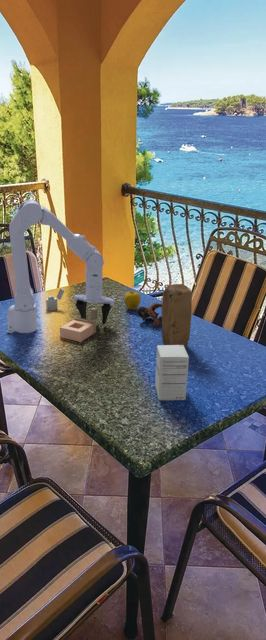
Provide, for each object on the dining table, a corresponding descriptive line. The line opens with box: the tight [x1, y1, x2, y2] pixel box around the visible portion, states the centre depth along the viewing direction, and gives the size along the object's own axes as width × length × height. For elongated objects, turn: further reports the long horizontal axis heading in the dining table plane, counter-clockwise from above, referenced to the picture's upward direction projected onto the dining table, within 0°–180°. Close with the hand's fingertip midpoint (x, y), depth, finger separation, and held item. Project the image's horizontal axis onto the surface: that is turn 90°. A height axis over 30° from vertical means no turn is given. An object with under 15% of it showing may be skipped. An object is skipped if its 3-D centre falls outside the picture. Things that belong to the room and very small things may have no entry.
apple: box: [123, 289, 141, 311], centre depth 180 cm, size 6×6×8 cm
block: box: [161, 283, 193, 348], centre depth 148 cm, size 11×8×20 cm
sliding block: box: [59, 319, 95, 343], centre depth 152 cm, size 8×8×4 cm
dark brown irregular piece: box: [135, 302, 162, 328], centre depth 168 cm, size 12×10×8 cm
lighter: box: [45, 288, 65, 311], centre depth 178 cm, size 7×2×8 cm, turn 113°
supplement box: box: [154, 344, 190, 401], centre depth 119 cm, size 7×7×13 cm
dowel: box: [90, 307, 99, 327], centre depth 161 cm, size 2×2×7 cm
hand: (94, 322), depth 162 cm, fingers open, 7 cm apart
